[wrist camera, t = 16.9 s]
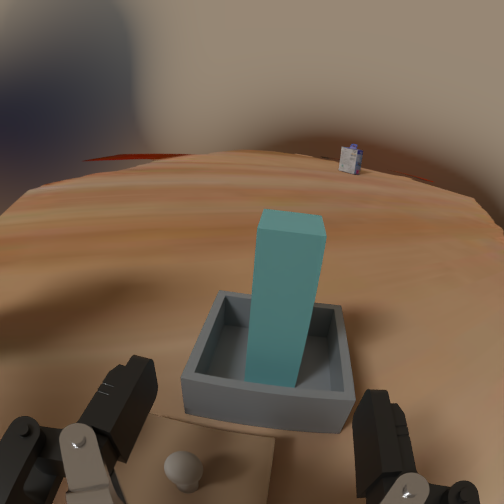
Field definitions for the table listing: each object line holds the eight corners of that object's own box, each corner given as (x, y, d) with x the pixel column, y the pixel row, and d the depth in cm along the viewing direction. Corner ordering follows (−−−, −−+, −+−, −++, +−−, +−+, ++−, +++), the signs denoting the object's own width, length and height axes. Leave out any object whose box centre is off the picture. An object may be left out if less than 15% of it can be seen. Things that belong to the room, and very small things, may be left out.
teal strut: (244, 381, 26) (257, 228, 20) (250, 349, 30) (264, 208, 24) (294, 387, 25) (326, 236, 20) (295, 355, 29) (321, 215, 24)
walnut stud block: (99, 527, 12) (65, 499, 10) (145, 424, 21) (131, 378, 19) (253, 568, 11) (263, 558, 9) (271, 450, 20) (282, 408, 18)
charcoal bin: (185, 413, 23) (180, 377, 21) (218, 324, 34) (219, 290, 32) (339, 433, 22) (355, 400, 20) (332, 339, 33) (341, 305, 31)
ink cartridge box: (360, 174, 145) (364, 146, 139) (354, 174, 142) (358, 145, 136) (344, 170, 152) (348, 142, 146) (338, 170, 149) (341, 142, 143)
